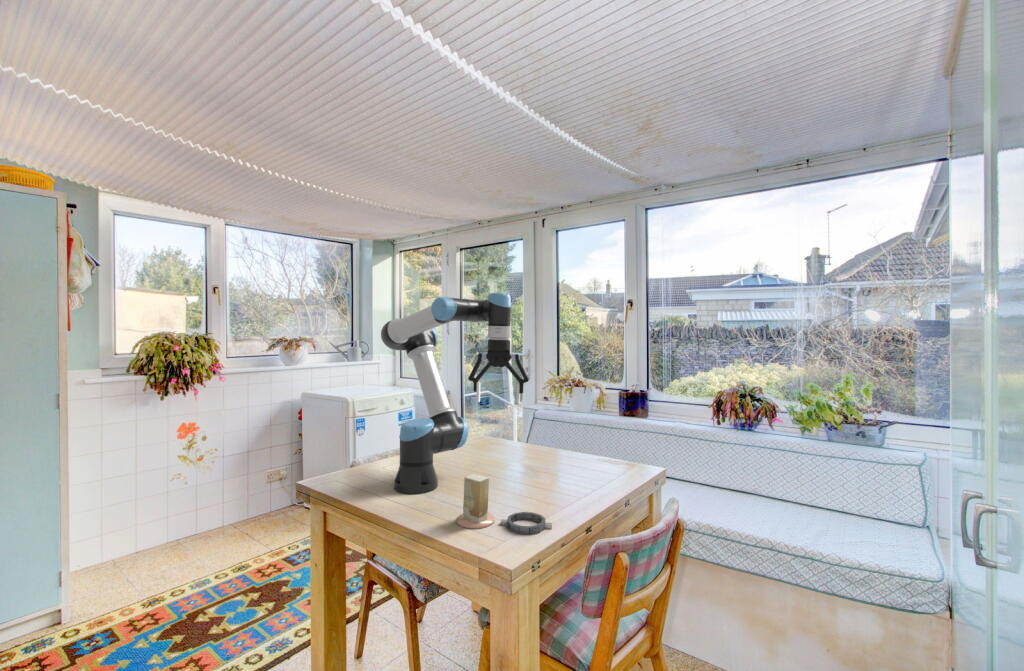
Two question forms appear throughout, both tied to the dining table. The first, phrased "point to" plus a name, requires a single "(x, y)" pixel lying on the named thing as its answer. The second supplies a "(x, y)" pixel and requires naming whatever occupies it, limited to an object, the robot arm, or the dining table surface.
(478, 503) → the skincare box
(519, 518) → the bayonet collar
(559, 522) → the dining table surface
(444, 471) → the dining table surface
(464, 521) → the peach dome button
